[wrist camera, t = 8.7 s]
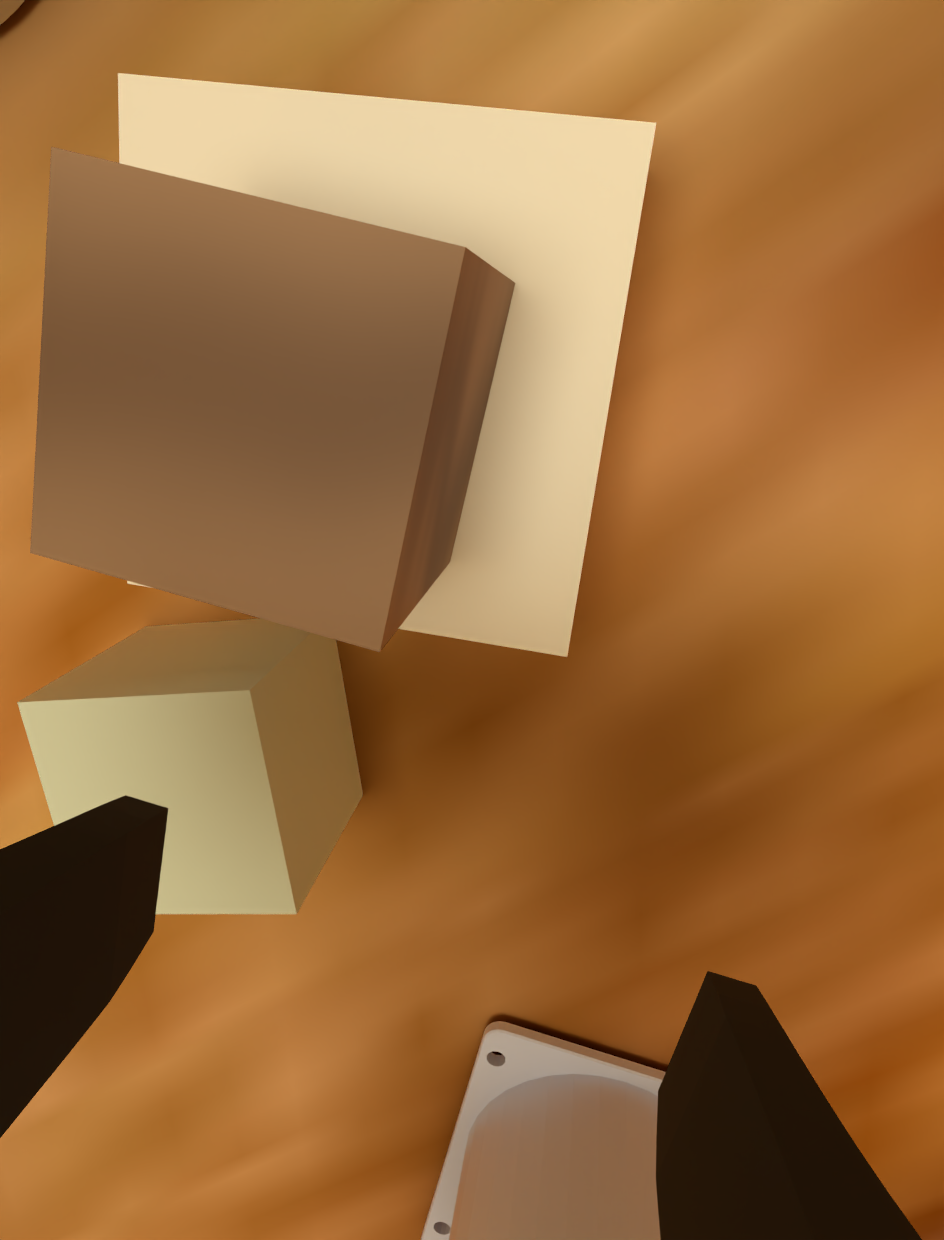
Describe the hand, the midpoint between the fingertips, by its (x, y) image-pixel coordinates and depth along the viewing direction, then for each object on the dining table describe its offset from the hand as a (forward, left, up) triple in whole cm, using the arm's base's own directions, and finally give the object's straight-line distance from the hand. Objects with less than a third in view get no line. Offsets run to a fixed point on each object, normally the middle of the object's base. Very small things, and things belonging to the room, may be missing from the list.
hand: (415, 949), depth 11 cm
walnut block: (+6, +4, -6) cm, 9 cm away
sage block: (-3, +6, -10) cm, 12 cm away
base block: (+6, +4, -10) cm, 13 cm away
